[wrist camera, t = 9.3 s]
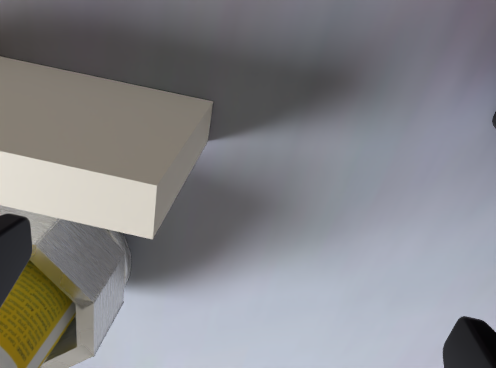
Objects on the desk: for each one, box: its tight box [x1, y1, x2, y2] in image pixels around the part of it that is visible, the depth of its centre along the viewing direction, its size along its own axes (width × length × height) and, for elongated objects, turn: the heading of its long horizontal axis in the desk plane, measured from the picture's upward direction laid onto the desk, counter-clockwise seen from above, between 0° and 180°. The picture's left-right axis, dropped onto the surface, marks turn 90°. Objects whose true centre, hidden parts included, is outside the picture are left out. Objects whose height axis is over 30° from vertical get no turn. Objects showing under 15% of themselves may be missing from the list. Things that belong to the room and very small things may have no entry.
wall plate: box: [0, 56, 213, 239], centre depth 17 cm, size 14×2×8 cm, turn 80°
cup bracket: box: [0, 205, 131, 368], centre depth 21 cm, size 8×11×4 cm
